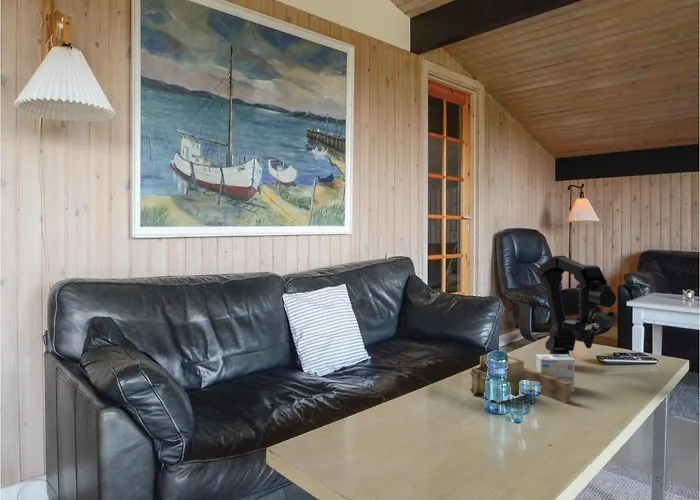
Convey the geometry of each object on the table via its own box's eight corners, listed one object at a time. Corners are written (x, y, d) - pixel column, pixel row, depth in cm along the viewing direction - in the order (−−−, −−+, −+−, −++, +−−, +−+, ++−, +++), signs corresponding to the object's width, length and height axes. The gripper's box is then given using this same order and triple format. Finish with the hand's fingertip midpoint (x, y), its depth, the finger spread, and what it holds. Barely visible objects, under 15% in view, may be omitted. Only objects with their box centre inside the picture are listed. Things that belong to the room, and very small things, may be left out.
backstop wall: (512, 383, 166) (511, 365, 165) (516, 382, 167) (516, 364, 166) (566, 403, 146) (566, 383, 146) (570, 402, 147) (570, 382, 147)
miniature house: (495, 383, 166) (495, 350, 165) (528, 395, 154) (528, 360, 153) (462, 391, 159) (462, 357, 158) (495, 405, 146) (495, 367, 146)
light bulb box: (568, 385, 162) (568, 353, 162) (575, 392, 156) (575, 359, 155) (535, 384, 164) (535, 353, 163) (540, 391, 157) (540, 358, 156)
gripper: (591, 308, 154) (591, 357, 154) (628, 303, 162) (628, 349, 163) (561, 303, 164) (561, 349, 164) (598, 299, 172) (598, 343, 173)
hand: (588, 348), depth 166 cm, fingers closed
